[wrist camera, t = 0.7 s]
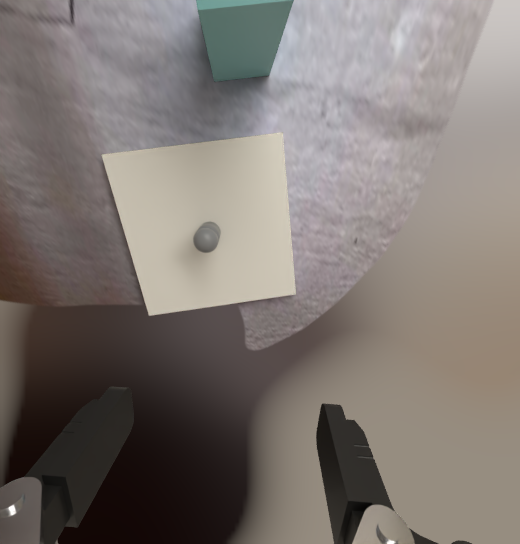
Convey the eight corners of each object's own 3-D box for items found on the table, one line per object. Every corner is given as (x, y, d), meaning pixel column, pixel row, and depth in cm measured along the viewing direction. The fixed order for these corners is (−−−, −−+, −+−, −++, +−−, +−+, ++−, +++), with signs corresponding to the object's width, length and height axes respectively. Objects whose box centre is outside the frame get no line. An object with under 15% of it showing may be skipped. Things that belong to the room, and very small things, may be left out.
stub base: (152, 311, 34) (133, 340, 28) (107, 155, 28) (71, 149, 22) (293, 290, 34) (306, 314, 28) (280, 134, 28) (292, 122, 22)
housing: (214, 81, 26) (197, 10, 15) (203, 11, 24) (175, -131, 13) (269, 75, 26) (293, 0, 15) (262, 5, 25) (285, -140, 13)
